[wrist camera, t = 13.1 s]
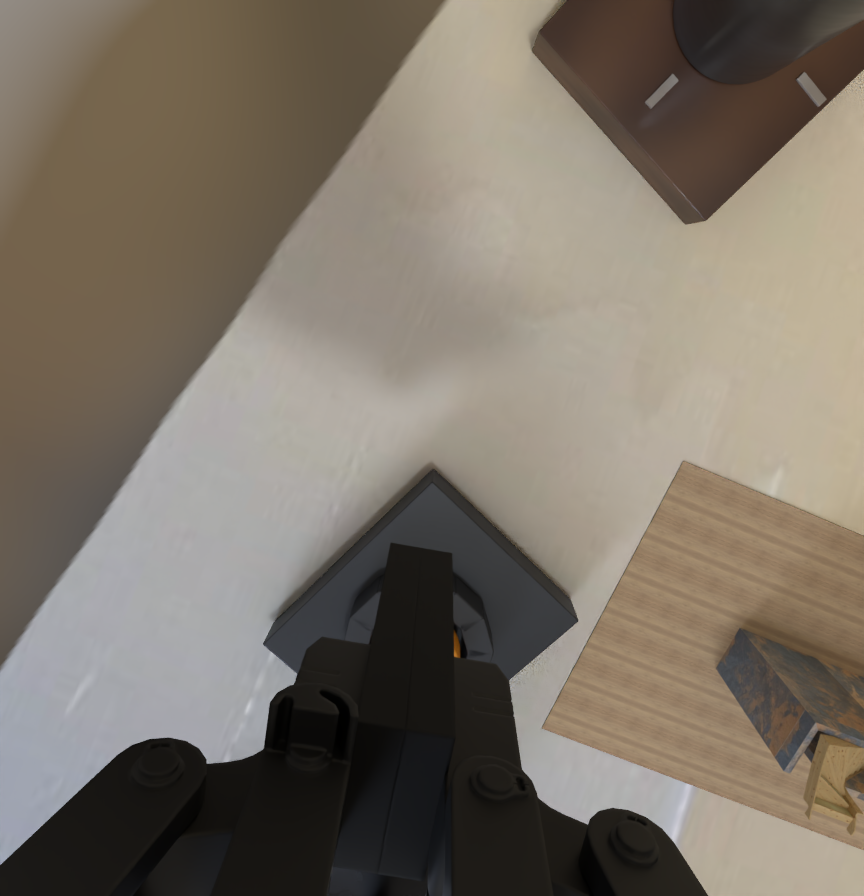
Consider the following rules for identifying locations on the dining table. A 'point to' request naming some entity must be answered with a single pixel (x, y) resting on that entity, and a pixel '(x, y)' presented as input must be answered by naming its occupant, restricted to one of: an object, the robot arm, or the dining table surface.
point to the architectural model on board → (734, 657)
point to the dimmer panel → (685, 98)
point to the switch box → (474, 585)
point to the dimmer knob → (757, 33)
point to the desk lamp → (373, 884)
